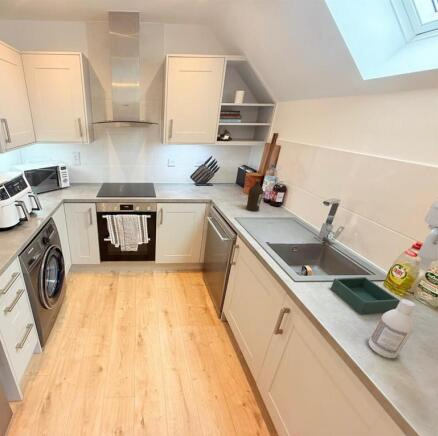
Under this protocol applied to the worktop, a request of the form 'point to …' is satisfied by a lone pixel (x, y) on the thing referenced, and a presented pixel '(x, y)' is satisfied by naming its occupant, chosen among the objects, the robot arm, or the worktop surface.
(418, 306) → the worktop surface
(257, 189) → the olive oil
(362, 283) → the tray
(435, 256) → the robot arm
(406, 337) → the bath foam
